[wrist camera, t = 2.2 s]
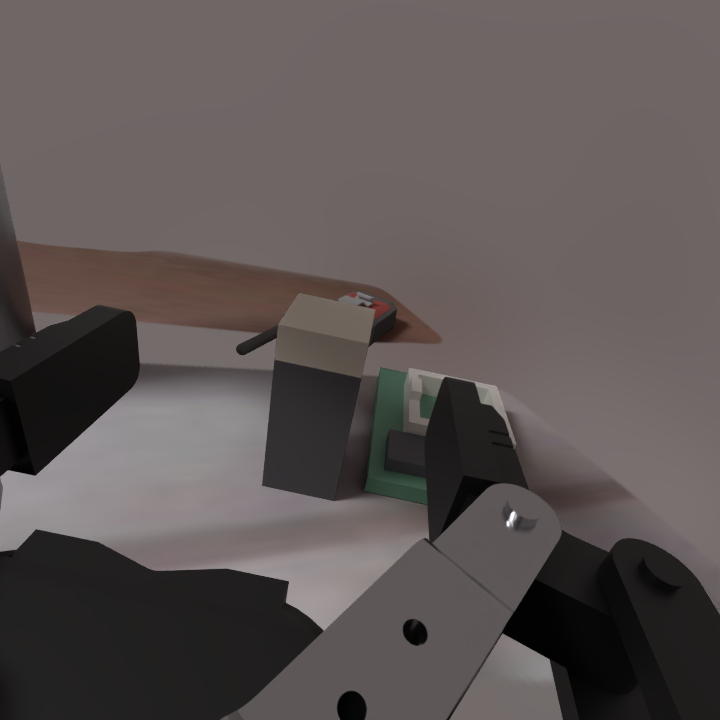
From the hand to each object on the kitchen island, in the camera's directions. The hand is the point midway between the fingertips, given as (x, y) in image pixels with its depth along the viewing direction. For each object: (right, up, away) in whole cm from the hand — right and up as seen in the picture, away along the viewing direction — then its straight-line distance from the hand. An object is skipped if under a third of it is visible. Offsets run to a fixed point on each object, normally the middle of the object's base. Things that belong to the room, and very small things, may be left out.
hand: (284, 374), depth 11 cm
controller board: (+8, -6, +22) cm, 24 cm away
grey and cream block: (-2, -7, +17) cm, 18 cm away
